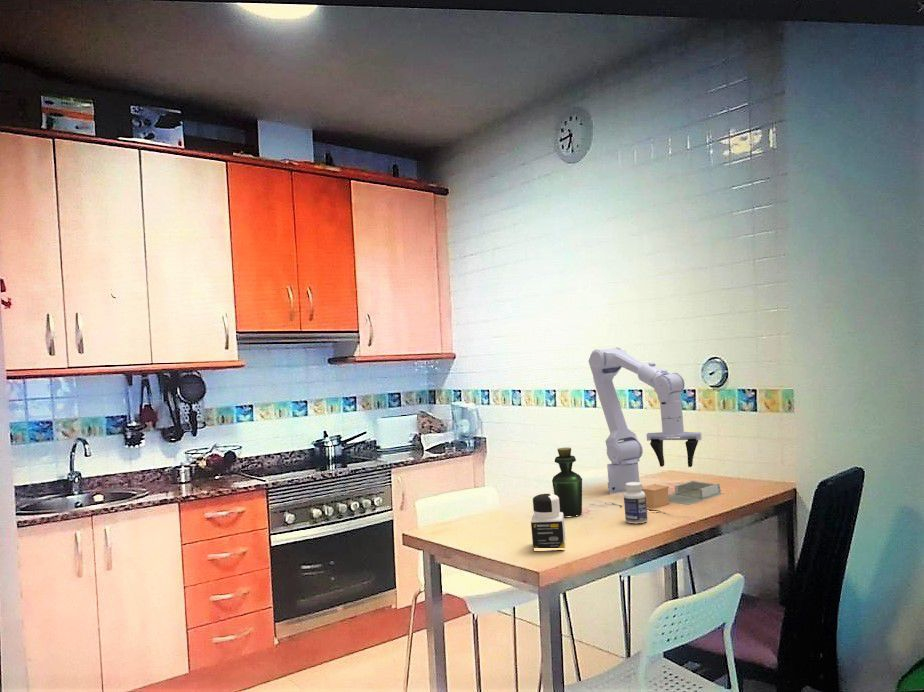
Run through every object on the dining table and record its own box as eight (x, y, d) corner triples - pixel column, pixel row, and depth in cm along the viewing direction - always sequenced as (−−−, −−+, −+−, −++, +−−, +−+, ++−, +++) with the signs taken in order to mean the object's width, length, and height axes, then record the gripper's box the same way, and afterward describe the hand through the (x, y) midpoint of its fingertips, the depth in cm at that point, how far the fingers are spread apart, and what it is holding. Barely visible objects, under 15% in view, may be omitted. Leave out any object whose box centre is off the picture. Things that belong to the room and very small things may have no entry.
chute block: (656, 513, 177) (654, 490, 177) (641, 510, 181) (639, 488, 181) (670, 508, 181) (668, 486, 181) (656, 506, 185) (654, 484, 185)
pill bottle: (642, 525, 167) (639, 486, 167) (622, 523, 170) (619, 485, 170) (651, 520, 171) (647, 481, 171) (631, 518, 174) (627, 480, 174)
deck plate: (688, 509, 178) (688, 504, 178) (655, 503, 187) (655, 499, 187) (724, 497, 187) (724, 493, 187) (691, 492, 196) (691, 488, 196)
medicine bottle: (533, 552, 153) (528, 499, 153) (535, 543, 160) (531, 492, 160) (564, 551, 151) (560, 498, 151) (565, 542, 158) (561, 491, 158)
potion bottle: (555, 511, 188) (550, 447, 188) (585, 510, 187) (579, 445, 187) (554, 518, 180) (548, 451, 180) (585, 517, 179) (579, 450, 179)
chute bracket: (702, 498, 183) (701, 489, 183) (675, 494, 191) (674, 485, 191) (720, 493, 188) (719, 484, 188) (693, 489, 195) (692, 480, 195)
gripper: (641, 419, 187) (646, 468, 187) (695, 418, 180) (700, 469, 180) (648, 416, 193) (652, 463, 193) (701, 415, 186) (705, 464, 186)
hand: (676, 466), depth 187 cm, fingers open, 7 cm apart
